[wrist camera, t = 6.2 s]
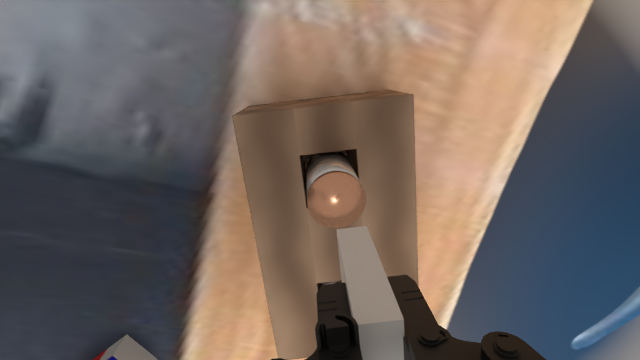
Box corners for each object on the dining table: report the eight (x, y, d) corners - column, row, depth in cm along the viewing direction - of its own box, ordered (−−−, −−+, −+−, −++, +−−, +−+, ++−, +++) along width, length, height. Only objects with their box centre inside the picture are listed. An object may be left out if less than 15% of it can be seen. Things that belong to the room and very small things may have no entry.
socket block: (283, 307, 41) (278, 361, 33) (248, 106, 33) (232, 116, 26) (397, 293, 41) (419, 343, 33) (388, 89, 33) (413, 94, 26)
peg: (309, 194, 30) (310, 231, 23) (303, 151, 29) (303, 176, 22) (352, 189, 30) (367, 224, 23) (349, 146, 29) (363, 169, 22)
